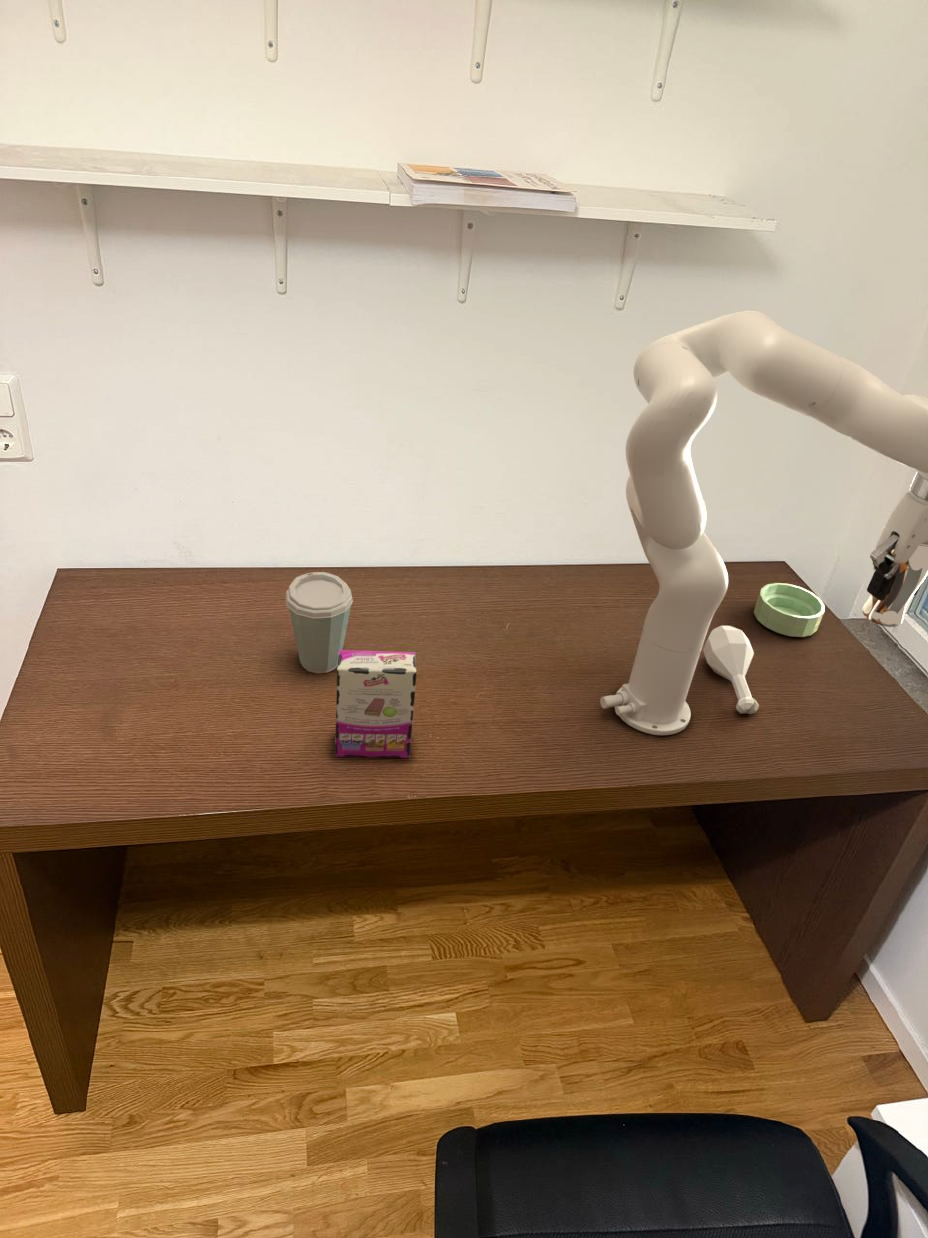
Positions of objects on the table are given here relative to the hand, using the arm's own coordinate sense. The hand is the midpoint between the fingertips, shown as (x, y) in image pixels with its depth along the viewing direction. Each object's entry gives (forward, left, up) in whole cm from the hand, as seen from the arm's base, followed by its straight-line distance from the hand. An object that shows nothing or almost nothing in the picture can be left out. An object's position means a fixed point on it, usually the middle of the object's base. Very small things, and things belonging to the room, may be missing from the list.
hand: (891, 592), depth 142 cm
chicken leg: (-14, +12, -25) cm, 31 cm away
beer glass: (0, 0, -5) cm, 5 cm away
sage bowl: (+10, +26, -25) cm, 37 cm away
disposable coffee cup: (-81, +37, -25) cm, 92 cm away
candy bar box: (-79, +15, -25) cm, 84 cm away
